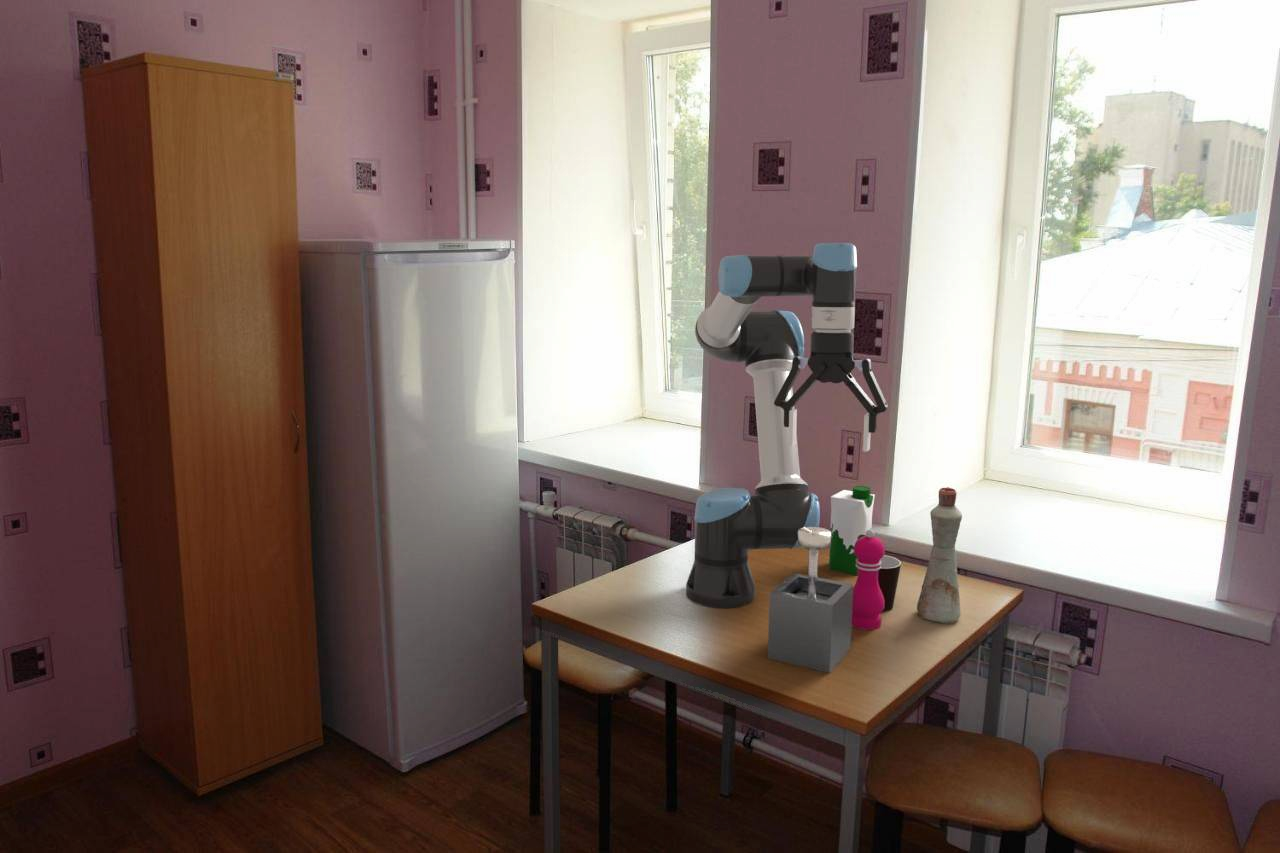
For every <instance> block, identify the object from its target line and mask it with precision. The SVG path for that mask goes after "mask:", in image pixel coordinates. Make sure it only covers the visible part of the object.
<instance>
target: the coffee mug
mask: <svg viewBox="0 0 1280 853" xmlns="http://www.w3.org/2000/svg"><path fill="white" fill-rule="evenodd" d="M880 561H881V569H879V572H878V583H879V587H880V589H881V592H882V594H883V597H884V602H885V607H884V610H883V611H882V612H881V613H884V612H889V611H892V610H893V609H894V603H895V598H896V593H897V588H898V582H899V579H900V574H901V573H900V572H901V566H902V562H901V560H899V559H898V558H896V557H894V556H889V555H885V554H884V556H883V557H882V558H881V559H880Z"/></svg>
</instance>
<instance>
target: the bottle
mask: <svg viewBox="0 0 1280 853" xmlns="http://www.w3.org/2000/svg"><path fill="white" fill-rule="evenodd" d="M957 494H958V493H957V491H956V489H954V488H952V487H949V486H947V487H942V488H940V489H939V490H938V504H937V505H936V506H935V507H934V508H932V509H931V510H930V512H929V514H930V521H931V522H930V523H931V534H932V544H933V545H932V547H931V551H930V556H929V559H928V562H927V566H926V572H925V574H924V575H925V576H924V579H923V582H922V583H923V584H922V585H921V591H920V594H919V597H918V600H917V605H916V611H917V615H918V616H919V617H920V618H922V619H924V620H929V621H932V622H937V623H941V624H949V625H951V624H952V623H954V622H955V623H956V622H957V621H958V620H959V619H960V617H961V615H962V614H961V613H962V612H961V601H960V600H961V599H960V589H959V588H960V585H959V583H960V582H959V578H958V565H957V554H956V553H957V552H956V543H957V542H956V541H957V538H958V535H959V530H960V526H961V522H962V518H963V513H962V512H961V511H960V509H959V507H957V506H956V501H957V500H956V499H957Z"/></svg>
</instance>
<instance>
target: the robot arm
mask: <svg viewBox="0 0 1280 853" xmlns="http://www.w3.org/2000/svg"><path fill="white" fill-rule="evenodd" d="M857 267H858V261H857V247H856V246H855V245H854V244H853V243H851V242H827V243H826V242H823V243H822V242H820V243H816V244H815V246H814V248H813V254H811V255H810V254H808V255H807V254H806V255H805V254H804V255H801V254H799V255H796V254H795V255H793V254H792V255H764V254H763V255H762V254H761V255H760V254H757V255H756V254H755V255H753V254H750V255H749V254H747V255H746V254H737V255H726V256H724V257H722V259H721V260H720V262H719V268H718V273H717V274H718V275H717V276H718V277H717V278H718V279H717V280H718V282H717V283H718V290H719V291H718V292H717V294H716V296H715V298H714V300H713V301H712V303H711V304H710V306H709V307H706V308H704V310H702V311H701V313H700V314H699V316H698V318H697V320H696V323H695V328H694V333H695V337H696V341H697V343H698V344H699V346H700V347H701V348H702V349H703V351H704V352H706V353H707V354H708V355H710V357H713V358H715V359H716V360H720V361H722V362H729V363H744V367H745V371H746V372H745V373H747V374H749V375H750V376H751V377H752V379H753V382H752V383H753V391H754V392H753V393H754V394H753V395H754V404H755V416H756V417H755V418H756V430H757V432H756V433H757V442H758V445H757V446H758V456H759V470H760V482H759V483H758V484H757V485H756V486H755V487H754V494H755V495H751V494H750V491H749V490H748V489H746V488H742V487H730V486H729V487H721V488H716V489H711V490H709V491H706V492H704V493H702V494H701V495H700V496H698V498H697V500H696V503H695V513H694V517H693V519H694V561H693V564H692V566H691V569H690V573H689V575H688V577H687V581H686V584H685V595H686V597H687V599H688V600H689V601H691V602H693V603H695V604H697V605H700V606H704V607H709V608H721V609H723V608H724V609H725V608H726V609H727V608H738V607H742V606H746V605H748V604H750V603H752V602H753V601H754V600H755V598H756V584H755V581H754V578H753V575H752V574H753V573H752V572H751V568H750V565H749V551H750V550H771V549H772V550H773V549H774V550H775V549H776V550H777V549H789V550H792V549H798V548H801V547H800V546H798V530H799V529H801V528H804V527H820V526H819V525H820V518H821V517H820V516H821V510H820V509H821V508H820V507H821V506H820V502H819V497H818V496H817V494H815V493H812V492H809V484H808V483H807V482H806V481H805V480H804V479H802V476H801V470H800V458H799V447H798V436H797V424H798V420H797V419H798V417H797V416H798V408H795V405H796V404H797V403H798V402H799V400H801V399H802V398H803V397H804V396H805V394H806V393H807V392H808V391H809V390H810V389H811V388H812V387H813V386H814V385H815V383H816V382H817V381H818V382H820V383H823V384H826V383H832V384H840V383H842V382H843V383H844V385H845V386H846V387H848V389H849V390H850V391H851V393H852V394H853V395H854V397H855V398H856V399H857V400H858V401H859V402H860V404H861V405H862V406H863V408H864V409H865V410H866V412H867V413H866V414H864V416H863V417H864V418H863V438H862V439H863V440H862V442H863V443H862V452H866V453H867V452H868V451H870V450H871V434H872V433H873V434H875V432H876V431H877V429H878V415H879V414H881V413H885V412H886V411H887V410H888V409H889V404H888V402H887V401H886V398H885V397H884V394H883V392H882V389H881V388H880V386H879V383H878V381H877V379H876V377H875V375H874V372H873V368H872V360H871V359H870V358H864V359H857V360H855V357H854V345H855V344H854V339H855V338H854V337H855V334H854V332H852V331H851V330H853V329H854V328H855V315H856V314H855V312H856V309H855V308H856V305H855V304H856V284H857ZM762 297H811V302H812V303H811V322H810V323H811V325H810V326H811V328H812V329H813V330H814V331H812V333H810V356H809V358H808V357H807V358H806V357H804V353H805V346H804V345H805V336H804V332H803V331H804V330H803V328H802V324H801V322H800V320H799V318H798V316H796V314H795V313H794V312H792V311H789V310H778V309H771V310H753V308H754V307H755V306H756V304H757V303H758V302H759V300H760V298H762ZM806 365H807V367H808V368H809V369H810V371H811V372H812V373H811V374H810V375H809V376H808V377H807V379H806V380H805V381H804V383H803V384H802V385H801V386H799V388H798V389H797V390H796V391H795V392H793V386H794V384H795V381H796V380H797V378H798V376H799V375H800V372H801V370H803V369H804V368H805V367H806ZM855 368H857V369H858V370H859V372H861V373H862V375H863V377H864V380H865V382H866V384H867V386H868V388H869V391H870V394H871V395H872V397H873V400H874V401H875V404H876V405H875V404H874V402H873V401H872V400H871V398H870V397H869V395H868V394H866V392H865V391H864V390H863V388H862V387H861V386H860V385H859V383H858V382H857V381H856V378H855V377H854V376H853V375H852V371H853V370H854V369H855Z"/></svg>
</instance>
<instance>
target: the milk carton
mask: <svg viewBox="0 0 1280 853" xmlns="http://www.w3.org/2000/svg"><path fill="white" fill-rule="evenodd" d="M875 497H876V494H871V487H868V486H864V485H863V486H862V485H859V486H858V485H856V486H854V487H852V491H851V490H848V489H847V490H846V489H843V490H841V491H839V492H837V493H835V494H833V495H831V496H830V506H831V507H830V508H831V509H830V510H831V512H830V531H831V546H830V548H829V561H828V563H829V565H828V566H829V567H828V569H829V570H831V571H836V572H840V573H845V574H848V575H854V576H858V568H857V567H856V559H857V556H856V555H855V553H854V545H855V543H856V541H857V540H858V539H859V538H861V537H864V536H866V531H867V530H869V529H871V530H872V523H873V510H874V503H875Z"/></svg>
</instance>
